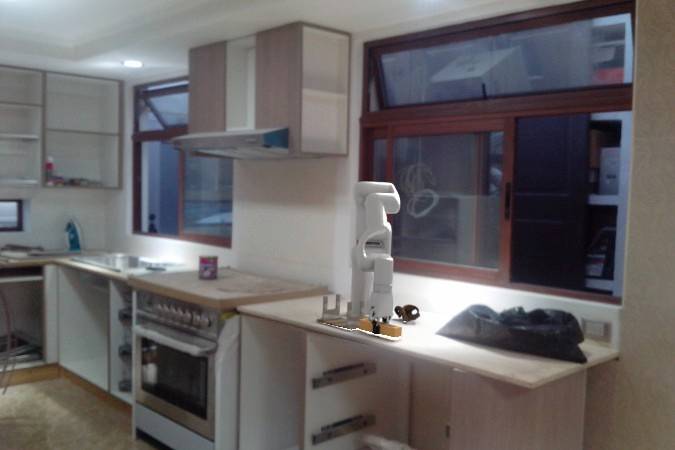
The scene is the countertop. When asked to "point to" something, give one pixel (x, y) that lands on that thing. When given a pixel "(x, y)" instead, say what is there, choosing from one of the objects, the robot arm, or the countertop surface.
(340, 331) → the countertop surface
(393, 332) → the orange rectangular bar
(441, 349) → the countertop surface
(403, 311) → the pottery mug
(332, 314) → the cradle
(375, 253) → the robot arm
